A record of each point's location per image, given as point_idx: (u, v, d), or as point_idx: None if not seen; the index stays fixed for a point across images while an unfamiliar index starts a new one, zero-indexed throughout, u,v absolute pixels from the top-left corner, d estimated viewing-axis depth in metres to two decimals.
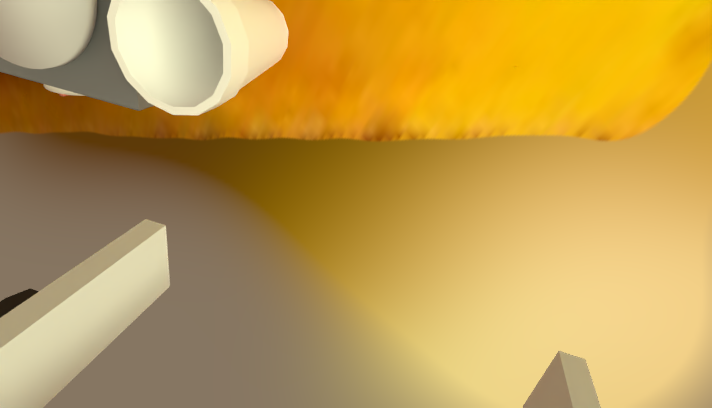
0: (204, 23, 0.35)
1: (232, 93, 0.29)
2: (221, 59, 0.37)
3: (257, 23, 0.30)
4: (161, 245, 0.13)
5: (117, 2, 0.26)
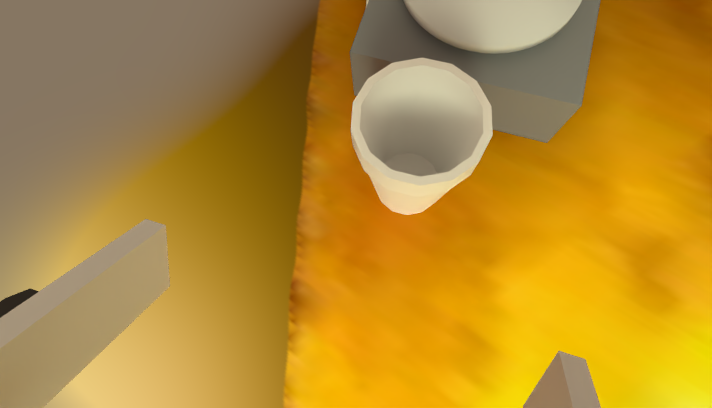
0: (423, 138, 0.36)
1: (367, 169, 0.27)
2: (389, 146, 0.37)
3: (425, 200, 0.31)
4: (161, 245, 0.13)
5: (463, 78, 0.27)
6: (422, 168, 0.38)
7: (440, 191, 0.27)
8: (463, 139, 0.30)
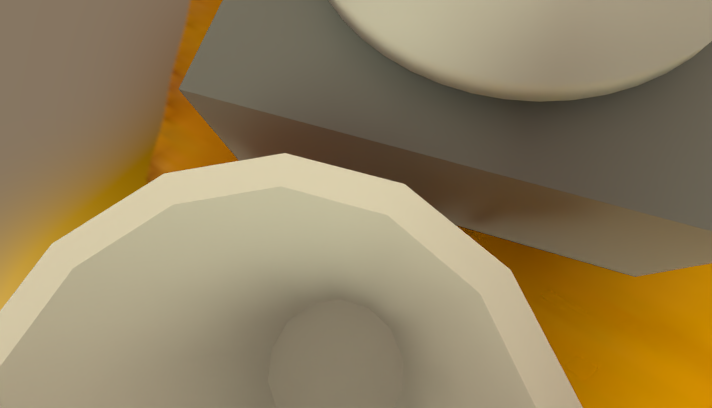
0: (362, 295, 0.15)
1: None
2: (284, 306, 0.16)
3: None
4: None
5: (452, 258, 0.06)
6: (367, 338, 0.18)
7: None
8: (454, 389, 0.09)
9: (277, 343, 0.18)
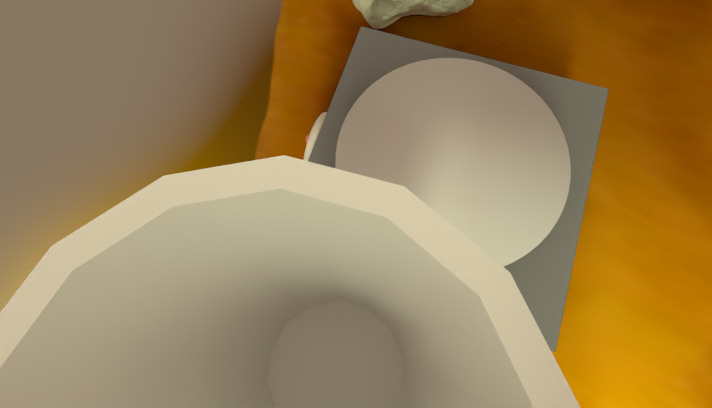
0: (362, 296, 0.15)
1: None
2: (283, 307, 0.16)
3: None
4: None
5: (451, 260, 0.06)
6: (367, 339, 0.18)
7: None
8: (454, 391, 0.09)
9: (277, 344, 0.18)
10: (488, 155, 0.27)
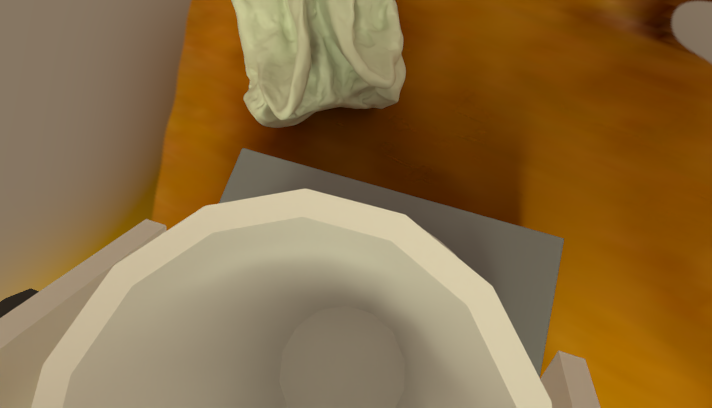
0: (367, 302, 0.16)
1: None
2: (294, 313, 0.17)
3: None
4: None
5: (445, 276, 0.07)
6: (371, 341, 0.19)
7: None
8: (450, 387, 0.11)
9: (287, 347, 0.19)
10: None
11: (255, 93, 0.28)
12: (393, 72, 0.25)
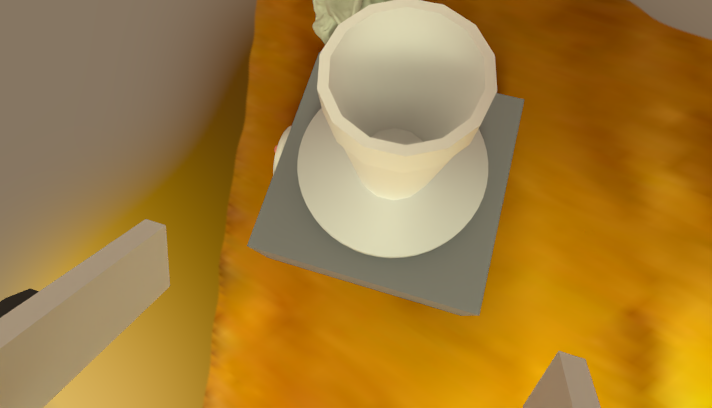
0: (411, 109, 0.30)
1: (340, 139, 0.21)
2: (371, 119, 0.31)
3: (414, 179, 0.25)
4: (161, 245, 0.13)
5: (459, 22, 0.21)
6: None
7: (432, 165, 0.21)
8: (459, 103, 0.25)
9: None
10: None
11: (322, 21, 0.41)
12: None
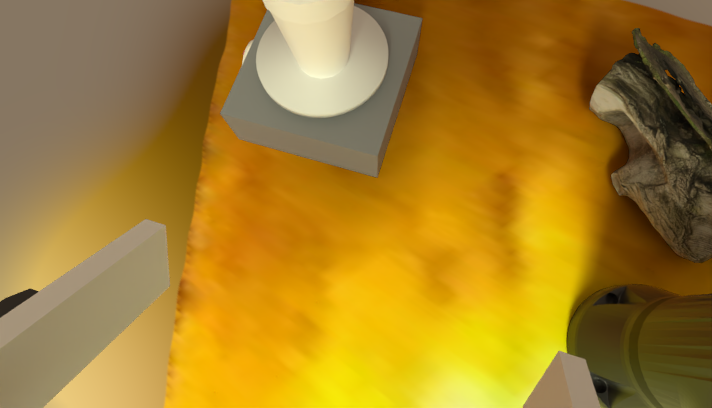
0: None
1: (266, 3, 0.36)
2: None
3: (320, 41, 0.39)
4: (161, 245, 0.13)
5: None
6: None
7: (321, 18, 0.36)
8: None
9: None
10: None
11: None
12: None
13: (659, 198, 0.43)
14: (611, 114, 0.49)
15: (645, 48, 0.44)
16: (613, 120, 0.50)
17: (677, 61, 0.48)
